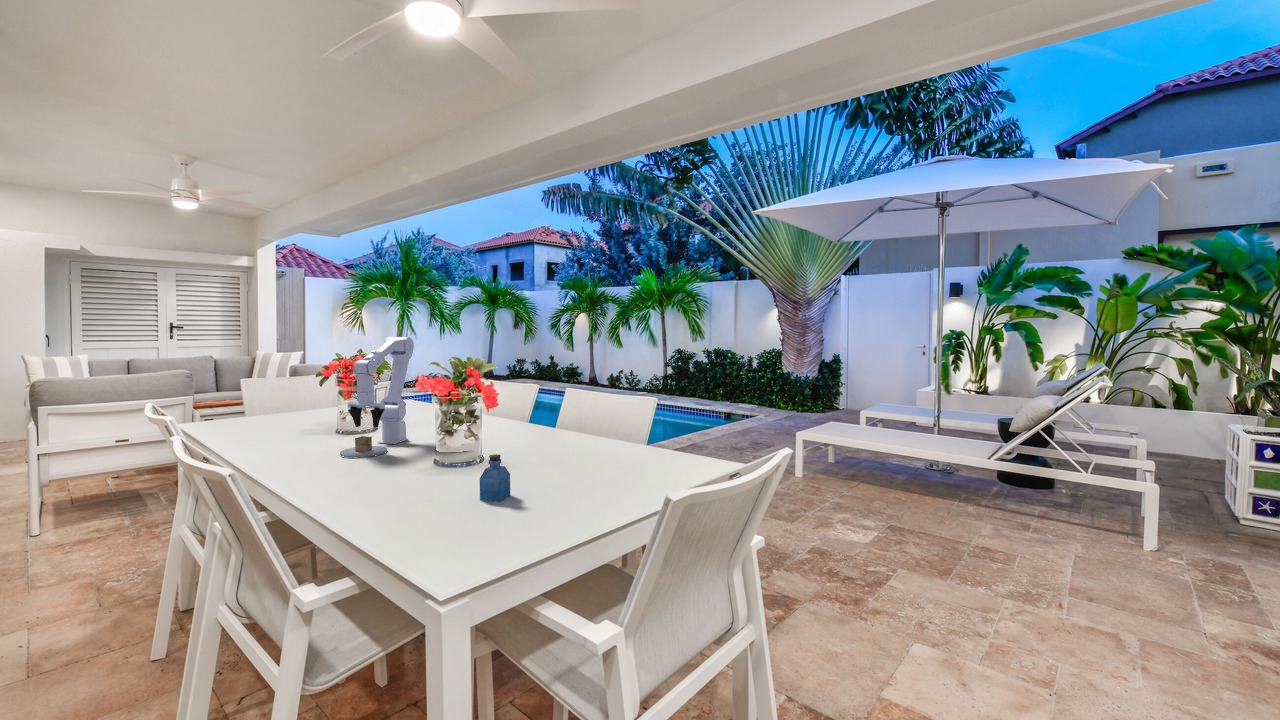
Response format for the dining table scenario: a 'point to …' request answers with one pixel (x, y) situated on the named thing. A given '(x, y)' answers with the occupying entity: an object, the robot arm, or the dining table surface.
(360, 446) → the walnut block
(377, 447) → the slate dish
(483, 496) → the perfume bottle
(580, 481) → the dining table surface
